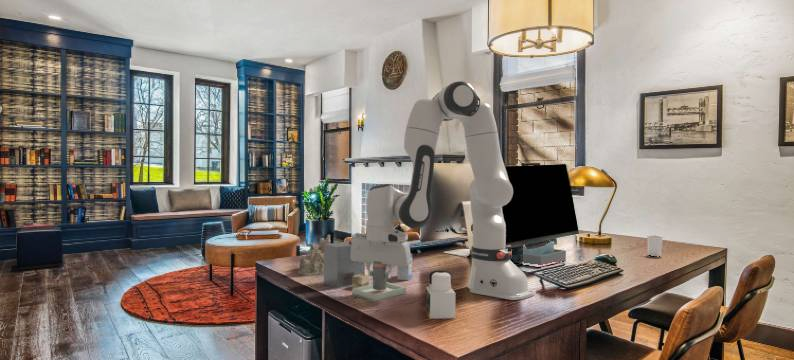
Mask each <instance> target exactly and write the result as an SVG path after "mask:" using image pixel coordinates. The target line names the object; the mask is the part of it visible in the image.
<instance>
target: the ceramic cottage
mask: <svg viewBox="0 0 794 360" xmlns="http://www.w3.org/2000/svg"><path fill="white" fill-rule="evenodd" d="M324 244H331V234H327V235H326V237H325V238H324V237H320V238H319V241H318V243H314V244H311V246H310V248H309V249H308V250H307V253H305V255H304V254H303V255H302V256H301V257H300V259H299V263H300V264H299V270H297V274H298V275H301V276H305V277H312V276H324Z"/></svg>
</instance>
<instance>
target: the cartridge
mask: <svg viewBox="0 0 794 360" xmlns="http://www.w3.org/2000/svg"><path fill="white" fill-rule="evenodd" d="M387 268H388V264H382V263H381V262H377V261H374V263H372V270H373V277H372V284H373V289H374V290H385V289H386V282H387V278H385V272H388V270H387Z"/></svg>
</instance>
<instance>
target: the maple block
mask: <svg viewBox="0 0 794 360" xmlns="http://www.w3.org/2000/svg"><path fill="white" fill-rule="evenodd" d="M368 285H370V276H368V275H367V274H365V275H362V274H359V275H355V276H353V285H351V286H352V287H351V288H352V289H354V288H358V287H363V286H368Z"/></svg>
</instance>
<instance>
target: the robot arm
mask: <svg viewBox="0 0 794 360" xmlns="http://www.w3.org/2000/svg"><path fill="white" fill-rule="evenodd" d="M454 119H456V120H457V119H458V120H459V121H460V122H461V124H462V127H463V131H464V139H465V144H466V145H465V146H466V152H467V160H468V162H469V164H470V167H471V170H472V173H473V177H474V179H473V180H472V181H471V182H470V185H469V189H468V193H469V198H470V210H471V219H472V220H471V221H472V246H471V248H470V249H471V250H470V251H471V254H470V255H471V270H470V277H469V280H468V283H467V286H466V287H467V289H469V293H470V294H471V293H472V294H476V295H482V296H487V297H494V298H498V299H505V300H510V301H517V300H518V301H519V300H523V299H524V300H525V299H527V298H531V297H533V296H534V295H535V294H536V292H535V289H532V288H529V286H528V278H527V276H526V273H525V272H523V270H522V269H520V268H519V267H518V266H517V264H514V263H513V262H512V261H511V257H510V256H512V250H511V251H508V249H507V247H506V243H507V242H506V239H507V238H506V237H507V234H506V233H507V228H506V227H507V225H506V221H505V218H504V213H503V207H504V206H507V205H508V203H510V202H511V201H512V198H513V195H514V188H513V185H512V183H511V182H510V179H509V175H508V171H507V169H506V166H505V163H504V160H503V156H502V151H501V147H500V146H501V145H500V138H499V133H498V127H497V122H496V119H495V115H494V111H493V109H492V107H491V105H490V104H489V103H486V102H484V101H481V98H480V97H479V95H478V93H477V91H476V90H475V88H474V87H473V86H472V85H471V84H470V83H469V82H466V81H464V80H463V81H462V80H459V81H454V82H451V83H450V84H449V85H446V86H445V87H443V88H442V89H441V90H440V91H439V92H438V93H436V95H435V96H433V98H432V99H429V98H422V99H418V100H417V101H415V103H414V104H413V106H412V109H411V112H410V113H409V117H408V119H407V123H406V127H405V133H404V139H403V140H404V141H403V148H404V151H405V152H406V154H407V155H408V156H409V158H410V160H411V163H412V174H411V180H410V187H409V192H408V193H406V192H403V191H401V190H399V189H397V188H396V187H394V186H393V185H392V184H389V183H384V184H377V185H373V186H372V187H370V188H369V189H368V191H367V195H366V196H367V197H366V215H367V221H366V224H365V225H366V226H365V227H366V229H365V230H366V233H360V232H355V233H354V234H353V235H352V236H351V238H350V239H351V240H350V241H351V244H352V246H351V253H350V258H351V260H352V261H356V262H365V269H366V270H367V272H368V276H369V277H371V278H373V267H372V266H373V263H374V261H377V262H381V263H382V264H387V268H388V270H387V272H385V278H386V279H391V278H392V272H393V270H394V268H395V266H397V265H399V266H406V265H408V264H409V263H410V261H411V255H410V254H411V247H410V244H409V242H408V239H409V235H408V234H407V233H406V232H403V231H401V230H398V229H395V228H394V226H395V223H397V222H398V223H401V224H403V225H404V226H406V227H408V228H410V229H415V230H417V229H421V228H423V227H424V226H426V225H427V224H428V223H429V222H430V220H431V218H432V215H433V208H432V202H431V189H432V181H433V176H434V175H433V174H434V167H435V157H436V150H437V144H438V139H439V136H440V130H441V129H440V128H441V126H442V123H443V122H444V121H446V122H449V121H453V120H454ZM371 265H372V266H371Z"/></svg>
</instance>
